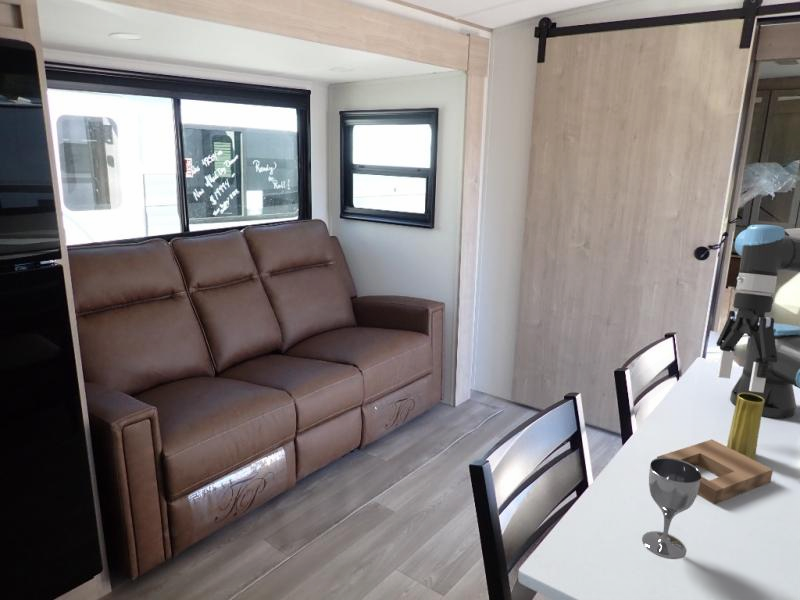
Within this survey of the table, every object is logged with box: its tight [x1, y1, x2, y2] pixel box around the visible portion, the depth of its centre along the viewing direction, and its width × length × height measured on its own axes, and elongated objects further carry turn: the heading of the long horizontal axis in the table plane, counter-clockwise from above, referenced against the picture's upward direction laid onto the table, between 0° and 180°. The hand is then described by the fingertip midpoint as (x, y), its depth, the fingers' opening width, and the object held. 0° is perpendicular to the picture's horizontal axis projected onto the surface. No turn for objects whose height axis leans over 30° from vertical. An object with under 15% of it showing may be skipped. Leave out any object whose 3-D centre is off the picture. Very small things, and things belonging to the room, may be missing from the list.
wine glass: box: [641, 457, 703, 560], centre depth 99 cm, size 8×8×15 cm
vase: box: [726, 393, 765, 460], centre depth 130 cm, size 6×6×14 cm
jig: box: [656, 439, 774, 505], centre depth 123 cm, size 18×14×3 cm
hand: (738, 384), depth 132 cm, fingers open, 13 cm apart
